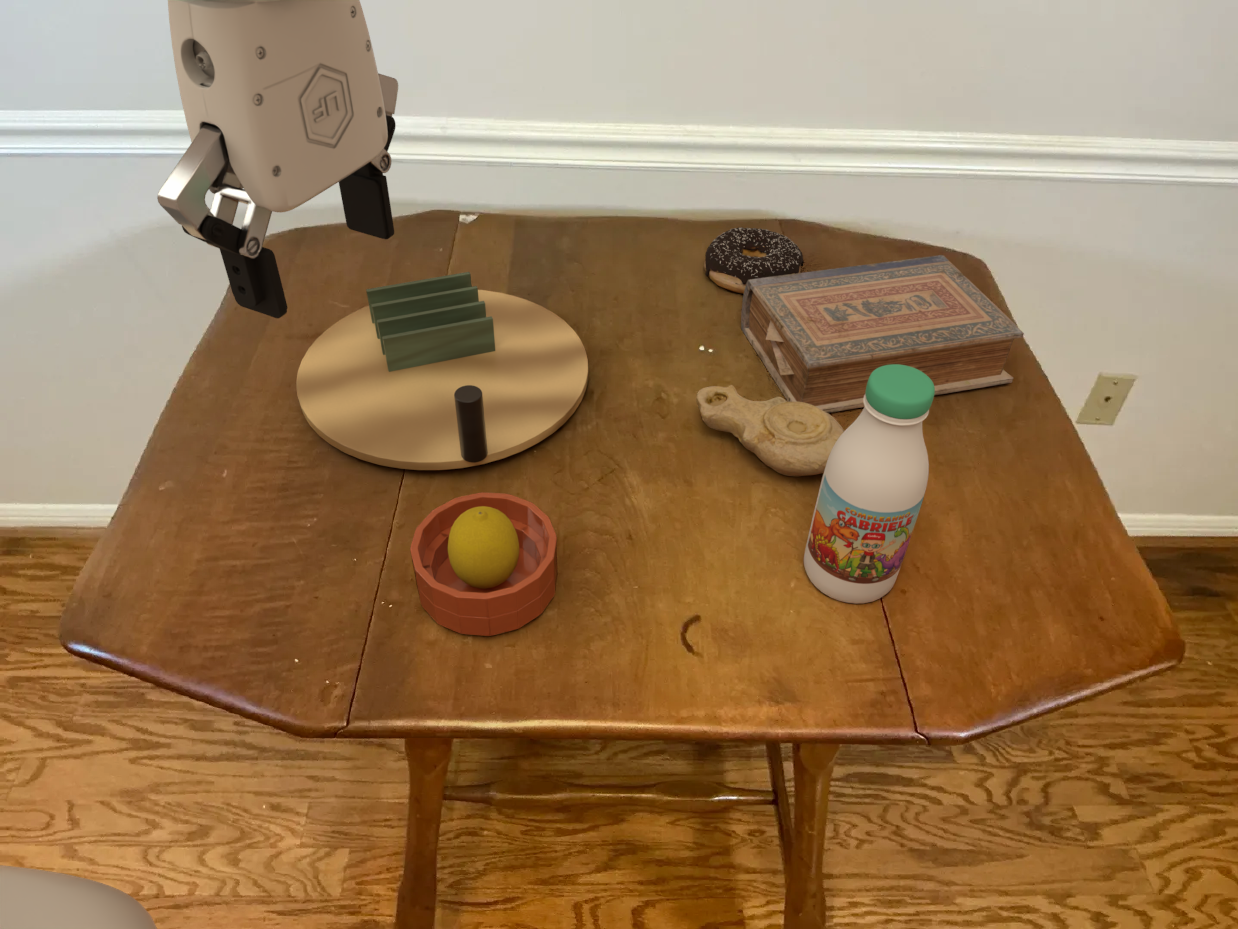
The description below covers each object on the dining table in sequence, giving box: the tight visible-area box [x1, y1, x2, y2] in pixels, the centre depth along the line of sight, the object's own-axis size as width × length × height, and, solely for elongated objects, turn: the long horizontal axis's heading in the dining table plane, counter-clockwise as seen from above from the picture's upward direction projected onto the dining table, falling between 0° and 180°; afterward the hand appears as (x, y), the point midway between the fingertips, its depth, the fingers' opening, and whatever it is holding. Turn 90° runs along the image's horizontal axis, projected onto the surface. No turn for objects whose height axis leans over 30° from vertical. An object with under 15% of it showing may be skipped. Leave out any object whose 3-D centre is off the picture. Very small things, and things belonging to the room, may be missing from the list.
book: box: [740, 254, 1025, 414], centre depth 100 cm, size 17×7×25 cm
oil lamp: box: [695, 384, 845, 477], centre depth 88 cm, size 11×14×5 cm
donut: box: [703, 227, 805, 295], centre depth 113 cm, size 11×12×4 cm
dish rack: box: [295, 271, 589, 471], centre depth 93 cm, size 30×29×8 cm
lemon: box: [448, 506, 519, 589], centre depth 74 cm, size 6×6×8 cm
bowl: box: [409, 491, 559, 637], centre depth 76 cm, size 11×11×5 cm
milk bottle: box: [803, 364, 935, 605], centre depth 73 cm, size 8×8×20 cm
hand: (320, 268), depth 55 cm, fingers open, 9 cm apart
